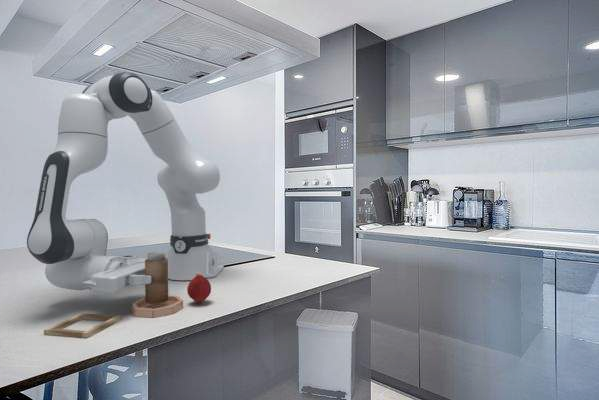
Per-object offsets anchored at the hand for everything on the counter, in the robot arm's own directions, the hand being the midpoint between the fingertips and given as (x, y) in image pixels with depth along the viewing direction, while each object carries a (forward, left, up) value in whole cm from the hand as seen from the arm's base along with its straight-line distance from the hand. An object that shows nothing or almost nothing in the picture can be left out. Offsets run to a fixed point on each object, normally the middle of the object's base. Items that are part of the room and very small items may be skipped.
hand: (159, 276), depth 87 cm
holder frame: (+13, -10, -8) cm, 18 cm away
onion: (-6, +7, -8) cm, 13 cm away
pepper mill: (0, -1, -6) cm, 6 cm away
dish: (0, -1, -8) cm, 8 cm away
